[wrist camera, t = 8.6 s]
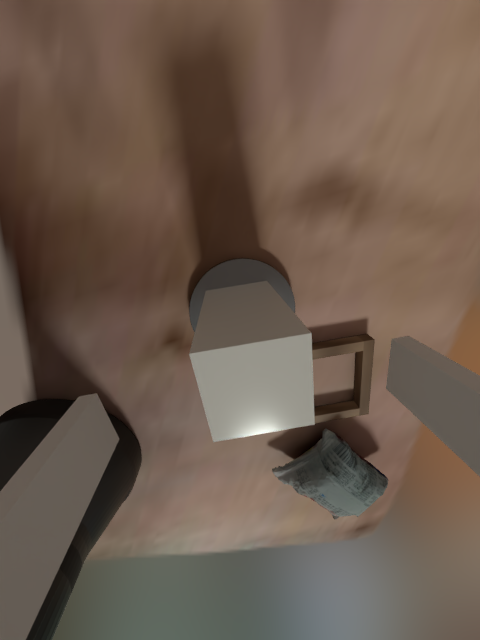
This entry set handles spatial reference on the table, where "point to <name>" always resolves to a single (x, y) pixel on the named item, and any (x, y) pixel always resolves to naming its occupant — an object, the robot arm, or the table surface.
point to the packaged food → (334, 477)
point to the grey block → (252, 362)
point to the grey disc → (238, 282)
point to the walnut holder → (362, 376)
